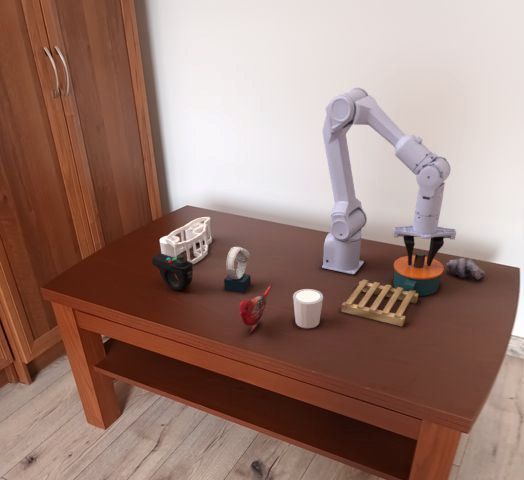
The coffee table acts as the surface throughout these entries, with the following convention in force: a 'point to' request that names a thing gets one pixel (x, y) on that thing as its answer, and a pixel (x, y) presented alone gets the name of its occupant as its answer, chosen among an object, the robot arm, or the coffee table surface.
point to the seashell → (464, 268)
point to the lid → (418, 267)
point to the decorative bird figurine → (253, 309)
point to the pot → (416, 284)
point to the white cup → (307, 307)
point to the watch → (237, 278)
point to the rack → (382, 292)
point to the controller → (174, 270)
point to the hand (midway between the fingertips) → (418, 263)
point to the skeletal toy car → (188, 240)
